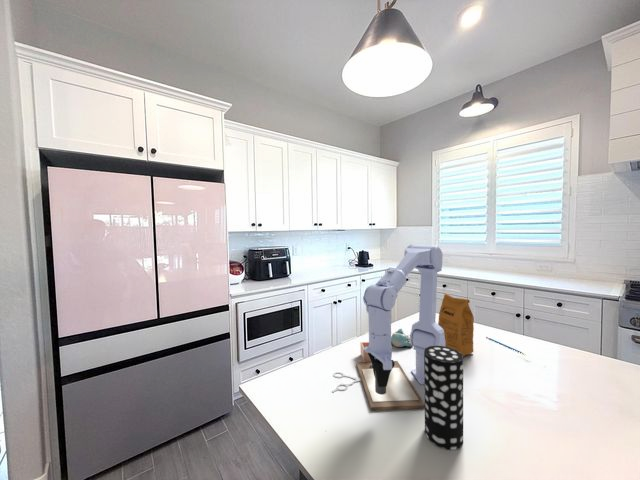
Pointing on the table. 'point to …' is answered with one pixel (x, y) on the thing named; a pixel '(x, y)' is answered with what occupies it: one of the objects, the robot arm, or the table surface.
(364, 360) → the pen cup
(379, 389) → the marker
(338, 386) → the scissors
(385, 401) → the clipboard
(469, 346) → the coffee package
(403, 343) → the stuffed animal
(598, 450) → the table surface
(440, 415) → the white-spotted black cylinder
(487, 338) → the grey thin rod
